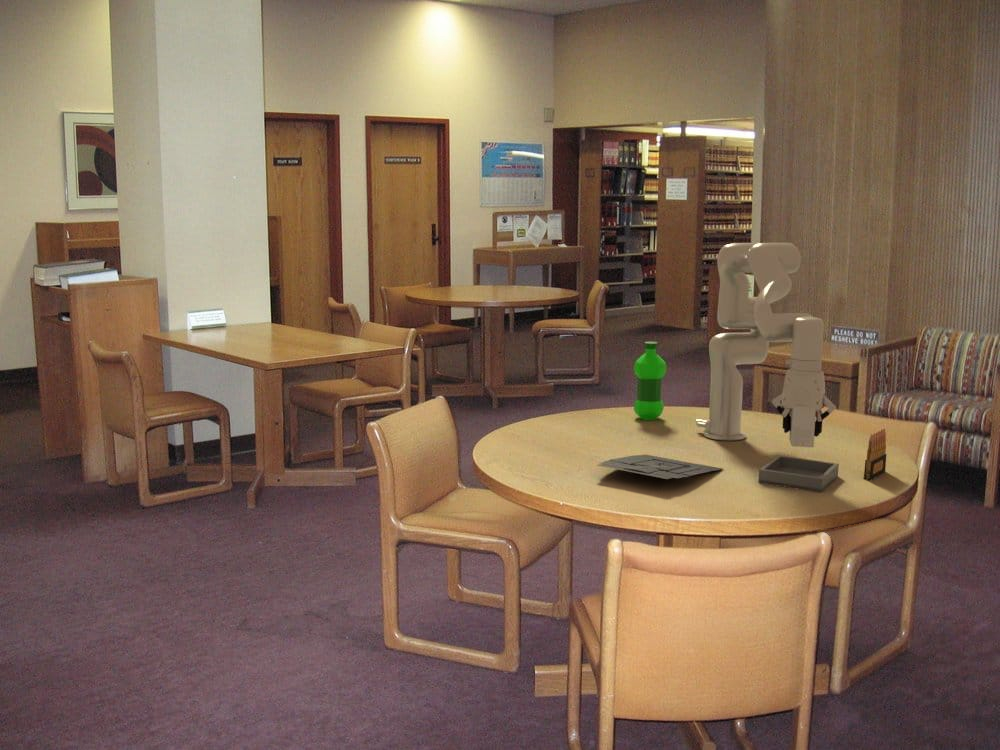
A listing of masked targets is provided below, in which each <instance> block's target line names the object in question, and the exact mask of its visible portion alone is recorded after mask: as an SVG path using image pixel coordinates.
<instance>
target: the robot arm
mask: <svg viewBox="0 0 1000 750" xmlns="http://www.w3.org/2000/svg"><path fill="white" fill-rule="evenodd" d="M801 262H802V256H801V253H800V250H799V249H798V247H797V246H796V245H795V244H793V243H791V242H734V243H729V244H725V245H723V246H722V247H721V248H720V250H719V252H718V255H717V271H718V275H719V292H718V303H717V313H716V314H717V315H716V317H717V323H718V326H720V328H723V329H726V330H749V331H750V332H722V333H719V334H716V335H714V336H712V338H711V339H710V340H709V342H708V343H709V344H708V351H709V359H710V360H709V361H710V393H709V412H708V413H709V415H708V417H709V418H708V419H706V420H704V419H700V418H697V419H696V421H695V425H696V426H697V427H699V428H704V430H703V433H702V435H703V436H704V437H706V438H708V439H711V440H716V441H740V440H744V439H745V438H746V435H747V434H746V432H744V431H743V430H741V427H742V426H741V425H742V410H743V409H742V407H743V406H742V405H743V387H744V379H743V375H742V374H741V373H740V371H739V370H738V368H737V366H738V365H756V364H757V365H759V364H762V363H763V362H765V360H766V359H767V356H768V354H769V347H770V343H791V353H790V355H791V356H790V358H788V359H787V358H786V359H785V360H784V361H785V362H784V364H785V365H787V366H789V369H786V373H785V376H784V382H783V388H782V393H781V394H779V395H777V396H776V397H775V398H773V399H772V400H771V403H772V404H773V406H774V407H775V408H776V410H777V412H778V413H780V415H781V417H782V429H783V433H784V434H787V433H790V423H791V417H790V416H791V409H793V406H806V407H815V411H816V414H815V432H814V438H815V437H816V438H817V437H818V436H820V435H821V434H822V433H823V432H822V431H823V420H824V419H826V418H827V417H828V416H830V415H831V414H832V413H833V412H834V411H835V410H836V409H837V406H836V405H835V404H834V403H833V402H832V401H831V400H830V399H829V398H828V397H827V395H826V383H825V373H824V371H822V361H823V347H824V345H823V344H824V330H825V324H824V320H823V319H822V318H819V317H815V316H813V315H811V314H810V313H806V312H775V313H773V312H772V307H771V304H773V303H775V302H777V301H780V300H782V299H783V298H784V297H786V296H787V295H788V294H789V293H790V291H791V289H792V287H793V283H792V279H791V278H790V276H789V274H793V273H796V272H798V270H799V269H800V267H801ZM746 273H749V274H750V273H751V274H752V276H753V278H754V280H755V283H756V285H757V287H758V290H759V293H758V295H757V296H750V295H749V294H750V280H749V277H747V274H746ZM780 401H781V402H780ZM825 406H826V407H827V409H826V411H824V412H823V411H822V409H824V408H825Z"/></svg>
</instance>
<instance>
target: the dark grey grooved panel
mask: <svg viewBox="0 0 1000 750" xmlns="http://www.w3.org/2000/svg"><path fill="white" fill-rule="evenodd" d="M597 466H599V467H604V468H609V469H613V470H619V471H625V472H628V473H629V472H630V473H635V474H640V475H645V476H651V477H655V478H661V479H665V480H669V479H673V478H674V479H681V478H688V477H692V476H695V475H699V474H704V473H709V472H712V471H714V472H715V471H720V470H723V469H724V468H722V467H717V466H710V465H706V464H705V465H704V464H699V463H694V462H688V461H682V460H677V459H672V458H667V457H661V456H656V455H651V454H639V455H628V456H623V457H618V458H617V457H616V458H612V459H609V460H603V461H602V462H599V463H598V464H597Z"/></svg>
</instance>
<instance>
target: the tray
mask: <svg viewBox="0 0 1000 750" xmlns="http://www.w3.org/2000/svg"><path fill="white" fill-rule="evenodd" d="M839 466H840V463H836V462H830V461H824V460H823V461H822V460H817V459H816V460H814V459H809V458H803V457H802V458H801V457H794V456H787V455H780V454H778V455H776V456H775V457H774V458H773V459H771V460H769V462H767V463H766V464H764V465H763V466H762V467H760V469H759V470H758V484H759V483H760V484H763V483H764V485H770V484H771V486H776V485H779V486H778V487H783V486H785V487H784V488H789V487H791V488H790V489H795V488H798V489H797V490H802V489H805V490H804V491H808V490H811V491H810V492H815V491H818V492H817V493H821V492H822V491H823V490H824V489H825V488H826V487H827V486H828V485H829V486H830V485H831V484H832V483H833V482H834V481H835V480H836V479H837V478H838V477H839V469H840V468H839ZM829 486H828V487H829ZM828 487H827V488H828ZM827 488H826V489H827ZM826 489H825V490H826ZM825 490H824V491H825ZM824 491H823V492H824ZM823 492H822V493H823Z"/></svg>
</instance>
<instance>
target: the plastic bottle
mask: <svg viewBox="0 0 1000 750" xmlns="http://www.w3.org/2000/svg"><path fill="white" fill-rule="evenodd" d="M658 345H659V344H658V342H657V341H644V346H643V349H645V353H643V354H642V355H641V356H640V357H639V358H638V359H637V360H635V363H634V365H633V371H634V372H633V373H634V375H635V376H636V378H637V389H636V400H635V402H634V405H633V410H634V411H633V412H634V413H635V414H636V415H637V416H638V417H639V418H640V420H645V421H654V420H657V419H658V418H659V417H660V416H661V415H662V414H663V411H664V402H663V400H662V382H663V380H662V379H663V377H665V375H666V371H667V365H666V361H665V360H664V359H663V358H662V357H661V356H660V355H659V354H657V353H656V350H657V349H658Z"/></svg>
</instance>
